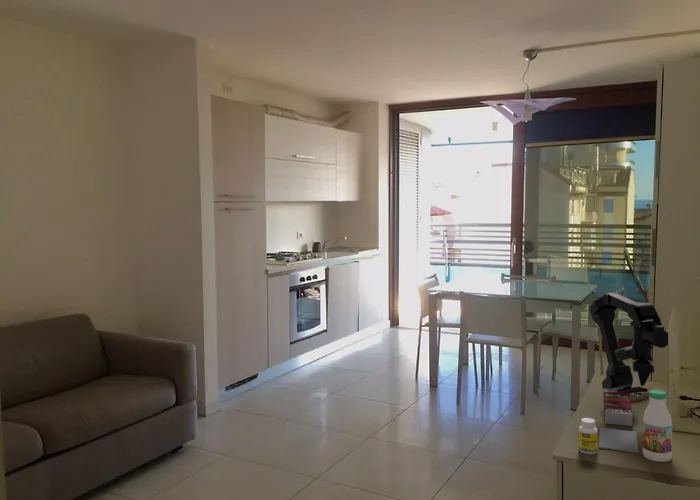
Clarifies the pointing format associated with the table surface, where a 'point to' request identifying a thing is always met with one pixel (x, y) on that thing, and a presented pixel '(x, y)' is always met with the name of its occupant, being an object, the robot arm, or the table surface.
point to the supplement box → (617, 407)
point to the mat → (618, 440)
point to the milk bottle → (657, 428)
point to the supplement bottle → (588, 436)
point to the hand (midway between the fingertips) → (642, 385)
